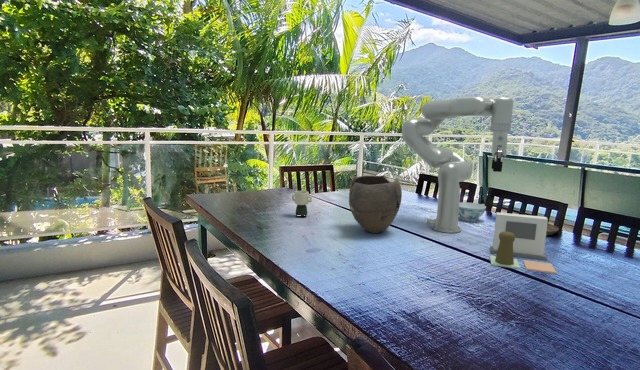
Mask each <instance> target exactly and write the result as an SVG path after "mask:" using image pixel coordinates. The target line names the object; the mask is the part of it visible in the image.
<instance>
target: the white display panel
mask: <svg viewBox="0 0 640 370" xmlns="http://www.w3.org/2000/svg"><path fill="white" fill-rule="evenodd" d="M548 221H549V219H548V217H547V216H539V215H529V214H528V215H527V214H517V213H508V212H507V213H506V212H497V211H496V212H495V222H494V233H493V242H492V245H489V252H490V254H493V255H494V254H496V255H497V251H498V247H499V243H500V239H499V234H500V233H501V232H504V231H506V232H511V233H513V234H514V235H515V241H514V242H513V257H517V258H527V259H533V260H534V259H535V260H539V261H540V260H541V261H548V256H547V255H546V253H545V248H546V246H545V245H546V239H547V236H546V231H547V223H548V224H549V222H548Z"/></svg>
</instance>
